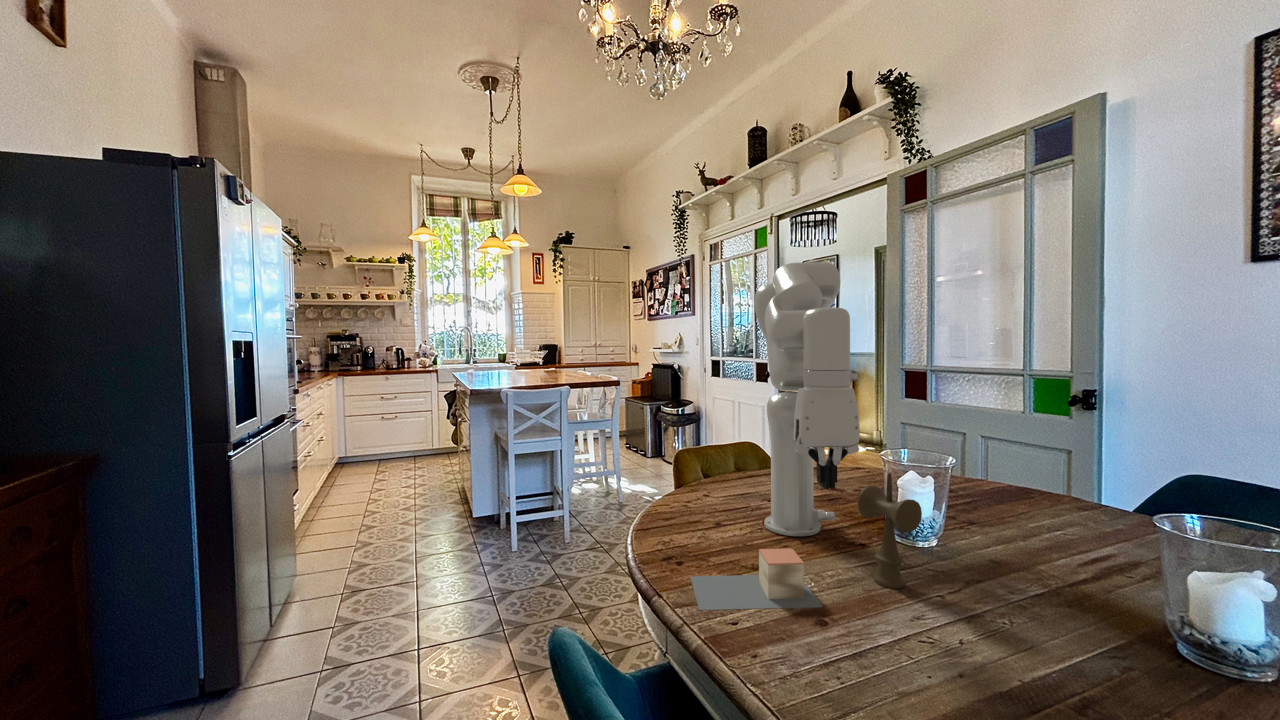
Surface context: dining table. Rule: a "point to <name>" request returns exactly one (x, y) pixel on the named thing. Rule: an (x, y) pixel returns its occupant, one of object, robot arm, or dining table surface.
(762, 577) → the birch cube
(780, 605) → the slate mat
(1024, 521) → the dining table surface
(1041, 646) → the dining table surface
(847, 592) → the dining table surface
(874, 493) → the kendama
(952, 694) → the dining table surface
